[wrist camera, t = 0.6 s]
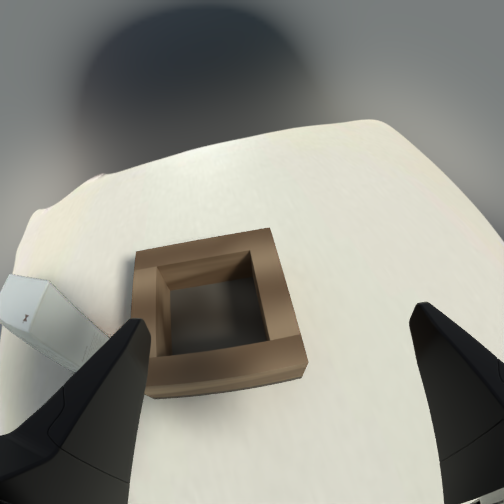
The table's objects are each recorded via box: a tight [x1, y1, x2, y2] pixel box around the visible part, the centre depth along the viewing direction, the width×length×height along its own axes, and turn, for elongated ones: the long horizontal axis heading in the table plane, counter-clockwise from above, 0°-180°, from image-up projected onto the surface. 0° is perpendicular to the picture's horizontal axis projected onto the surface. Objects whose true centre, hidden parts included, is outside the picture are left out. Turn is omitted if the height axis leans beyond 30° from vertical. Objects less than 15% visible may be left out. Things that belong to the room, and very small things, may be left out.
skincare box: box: [0, 274, 110, 372], centre depth 19 cm, size 6×4×12 cm
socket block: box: [131, 228, 308, 399], centre depth 24 cm, size 13×13×5 cm
